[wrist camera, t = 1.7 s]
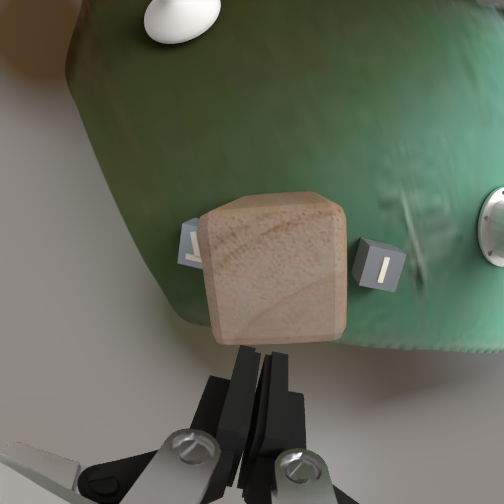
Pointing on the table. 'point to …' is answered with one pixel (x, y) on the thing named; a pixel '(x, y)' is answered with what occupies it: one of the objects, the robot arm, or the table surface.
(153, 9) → the flower in vase
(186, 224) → the slate block marked 7
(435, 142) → the table surface
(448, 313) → the table surface
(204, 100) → the table surface
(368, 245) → the charcoal block marked 1
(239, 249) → the wooden block
